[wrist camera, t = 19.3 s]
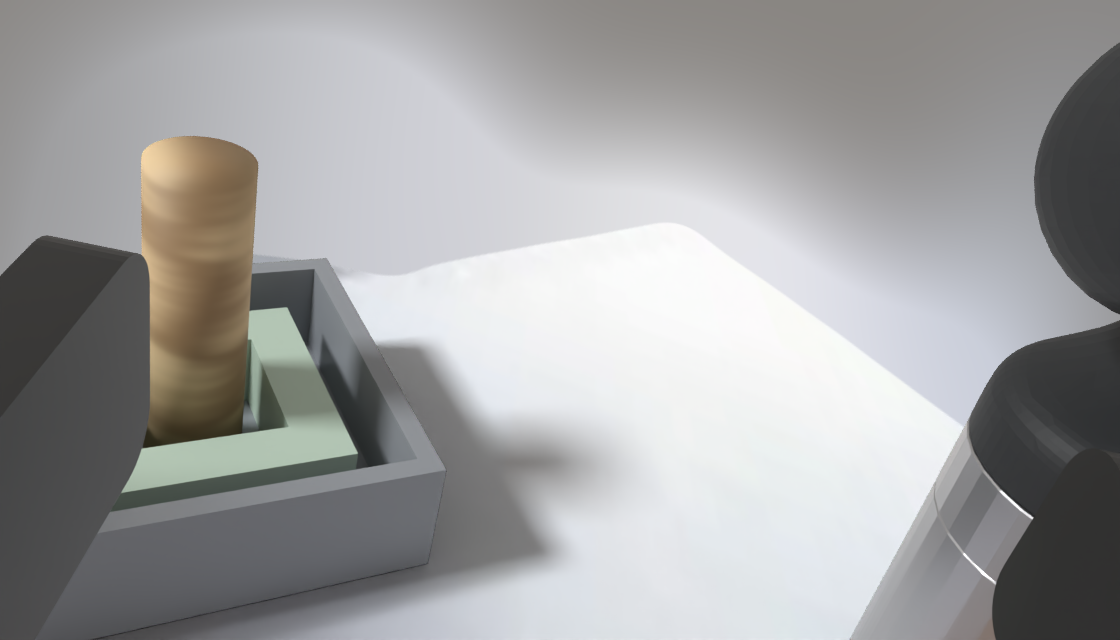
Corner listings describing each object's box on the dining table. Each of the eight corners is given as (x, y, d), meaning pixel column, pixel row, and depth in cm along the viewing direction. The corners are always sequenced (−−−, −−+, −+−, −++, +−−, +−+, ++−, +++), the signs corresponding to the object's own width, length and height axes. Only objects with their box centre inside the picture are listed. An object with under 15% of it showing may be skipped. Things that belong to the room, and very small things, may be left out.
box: (317, 344, 63) (326, 258, 59) (427, 563, 50) (446, 470, 47) (-28, 382, 54) (-39, 284, 51) (2, 659, 41) (-11, 552, 38)
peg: (228, 419, 54) (243, 135, 45) (250, 478, 51) (270, 185, 42) (135, 432, 52) (132, 136, 43) (152, 495, 49) (152, 189, 40)
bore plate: (282, 366, 58) (287, 307, 56) (349, 516, 50) (357, 453, 48) (43, 395, 53) (38, 330, 51) (74, 570, 44) (70, 501, 42)
